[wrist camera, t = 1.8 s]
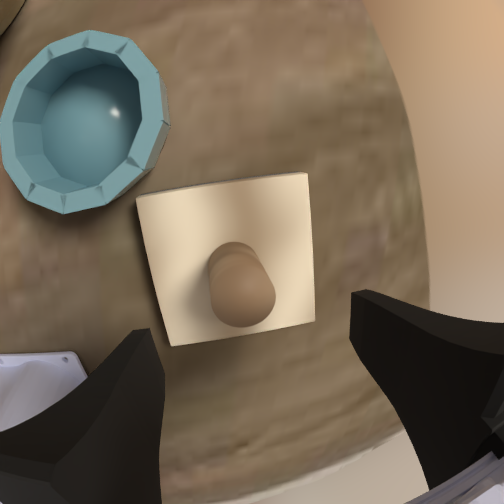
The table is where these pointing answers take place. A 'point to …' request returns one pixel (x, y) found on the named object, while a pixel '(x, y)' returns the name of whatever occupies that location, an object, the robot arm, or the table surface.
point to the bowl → (84, 122)
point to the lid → (231, 256)
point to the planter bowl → (8, 12)
